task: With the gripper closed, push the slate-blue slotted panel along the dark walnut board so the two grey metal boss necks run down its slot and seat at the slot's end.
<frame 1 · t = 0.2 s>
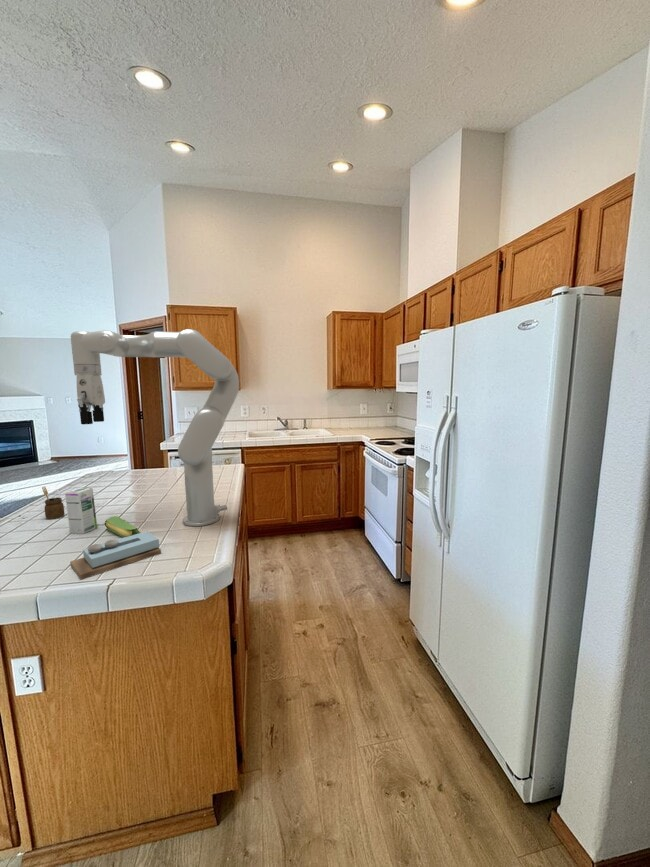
hand: (93, 422, 122), 37 cm above the counter, tool pointing down, fingers open, 9 cm apart
edible corn: (122, 535, 122), on the counter
utensil holder: (55, 517, 141), on the counter
syrup box: (83, 531, 126), on the counter
panel: (122, 548, 104), point 3 cm above the counter, slide at 0.0 cm
board: (117, 559, 104), on the counter
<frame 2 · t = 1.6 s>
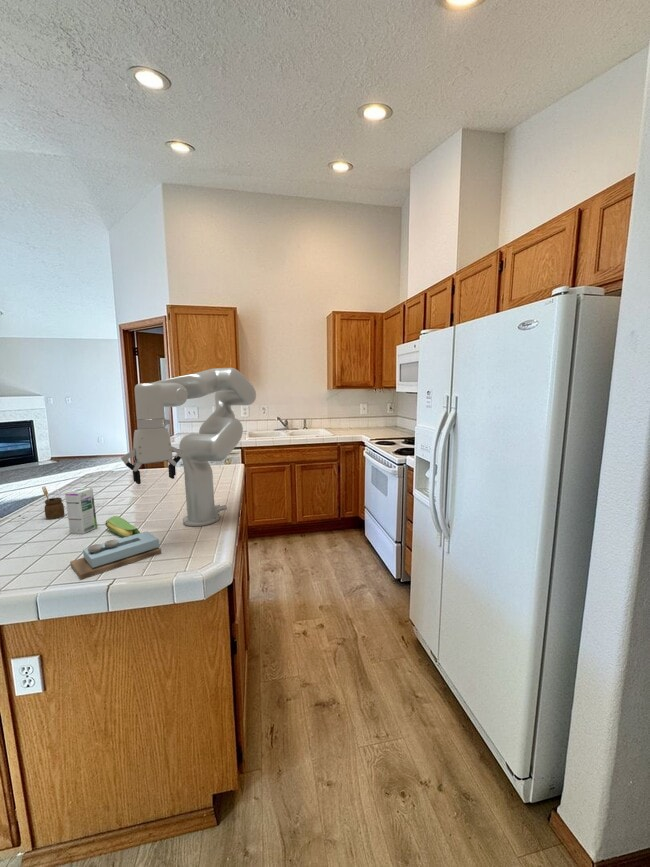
hand: (155, 480, 112), 20 cm above the counter, tool pointing down, fingers open, 9 cm apart
nothing on the counter moved.
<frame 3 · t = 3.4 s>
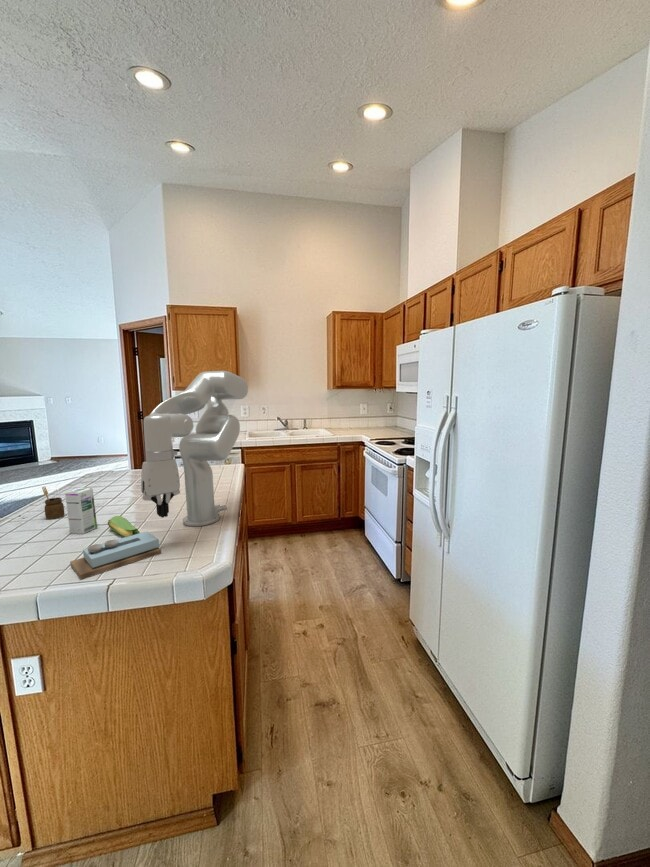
hand: (163, 516, 111), 9 cm above the counter, tool pointing down, fingers closed
nothing on the counter moved.
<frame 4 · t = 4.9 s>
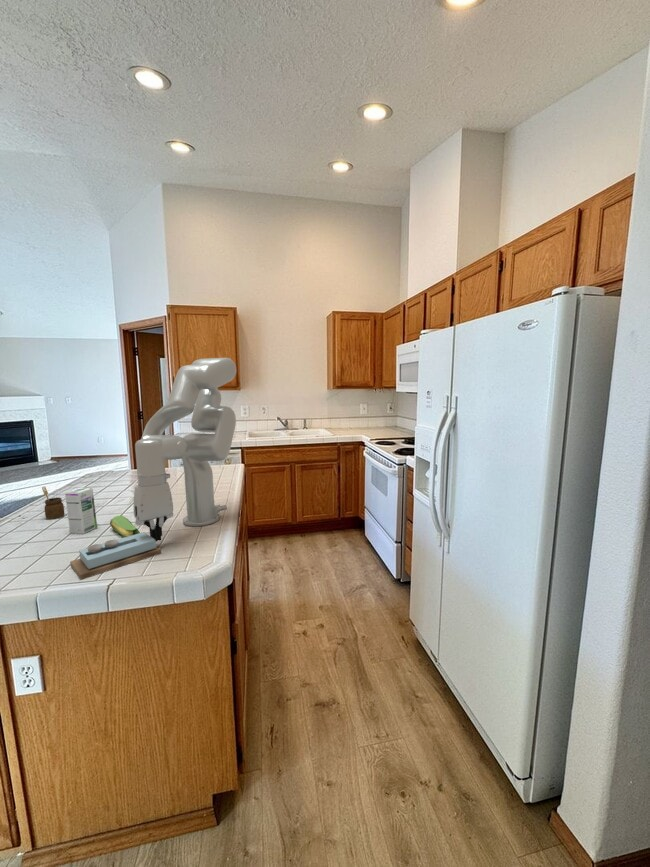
hand: (156, 539, 111), 2 cm above the counter, tool pointing down, fingers closed
panel: (118, 549, 104), point 3 cm above the counter, slide at 0.9 cm, touching gripper
everything else where it was.
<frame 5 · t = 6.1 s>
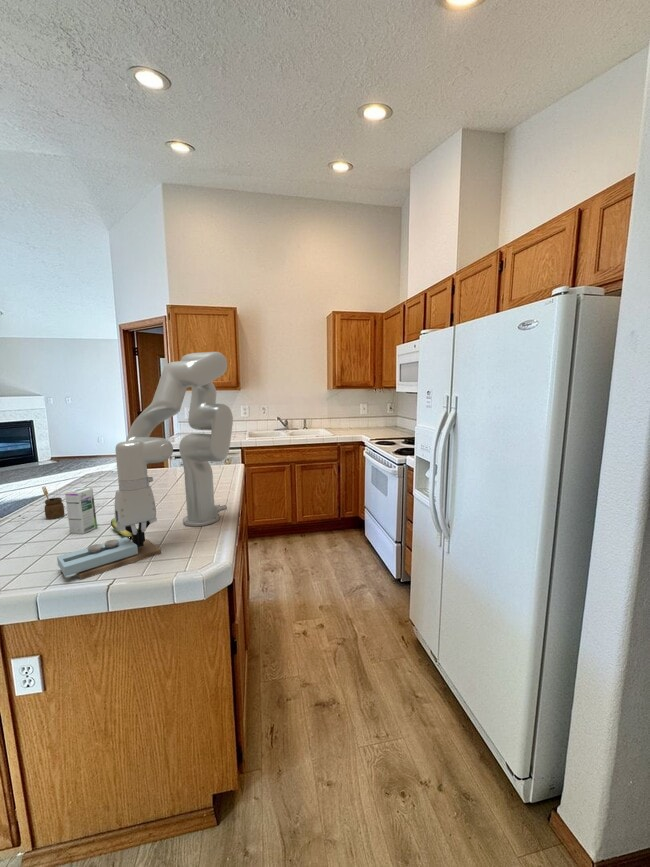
hand: (139, 545, 107), 2 cm above the counter, tool pointing down, fingers closed
panel: (98, 555, 100), point 3 cm above the counter, slide at 5.9 cm
everything else where it was.
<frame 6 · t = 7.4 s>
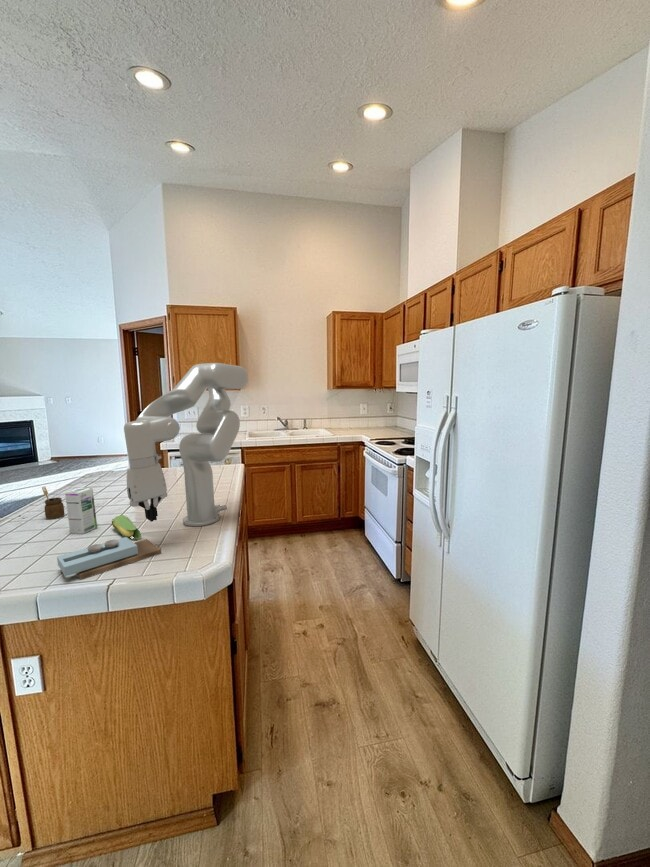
hand: (152, 519, 113), 8 cm above the counter, tool pointing down, fingers closed
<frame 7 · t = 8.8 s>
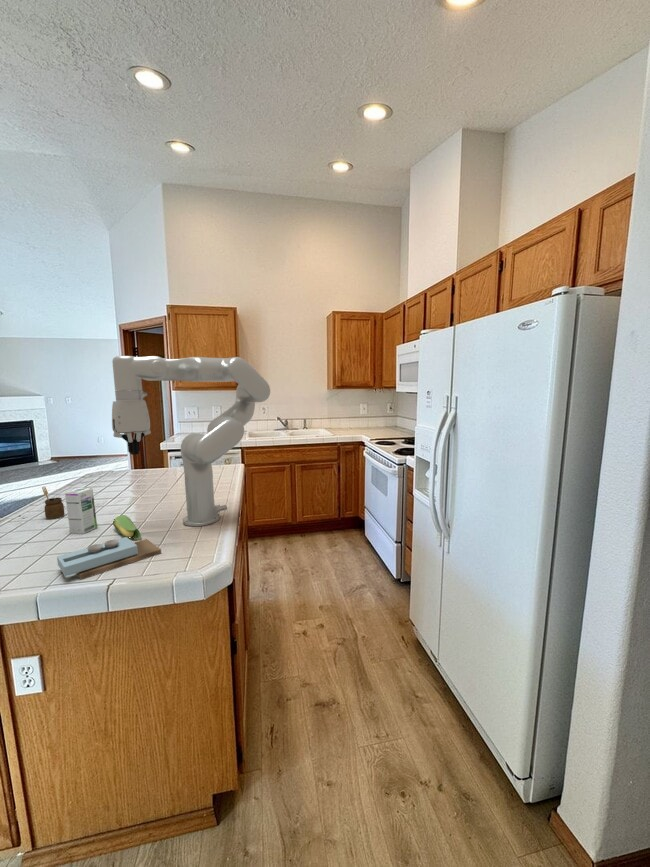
hand: (134, 454, 117), 27 cm above the counter, tool pointing down, fingers closed
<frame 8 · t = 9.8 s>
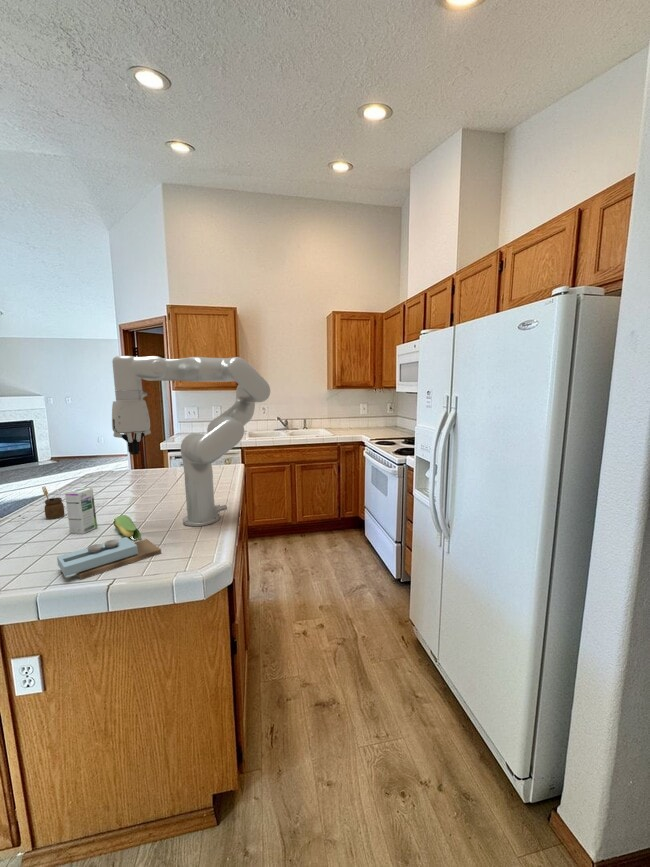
hand: (134, 454, 117), 27 cm above the counter, tool pointing down, fingers closed
at the end: panel slide at 5.9 cm; the gripper is holding nothing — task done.
